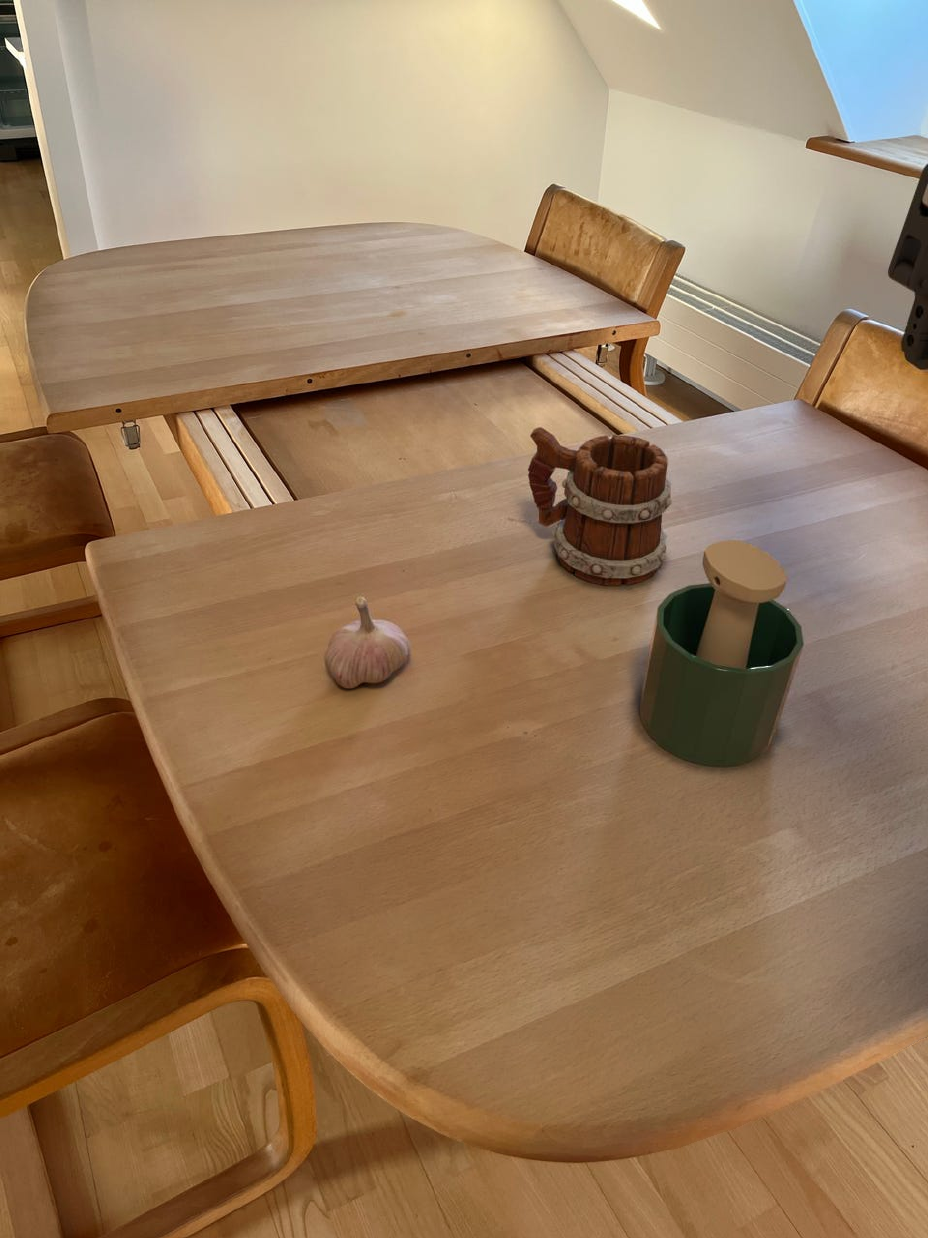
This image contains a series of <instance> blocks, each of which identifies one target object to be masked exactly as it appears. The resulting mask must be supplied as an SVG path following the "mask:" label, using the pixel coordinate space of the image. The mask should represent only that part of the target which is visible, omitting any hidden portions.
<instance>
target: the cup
mask: <svg viewBox="0 0 928 1238" xmlns="http://www.w3.org/2000/svg"><path fill="white" fill-rule="evenodd" d="M714 593H715V589H714V587H713V586H712V585H711V583H710V582H708V583H698V584H690V585H686V586H684V587H682V588H680V589H677V590H675V591H672V592H670V593H668V595H667V596H666V597H665V598H664V599H663V601H662V602H661V603H660V604H659V605H658V607H657V610H656V614H655V620H654V625H653V631H652V636H651V640H650V646H649V652H648V656H647V657H648V658H647V662H646V666H645V667H646V668H645V672H644V677H643V682H642V683H643V684H642V689H641V696H640V704H639V716H640V720H641V723H642V725H643V727H644V729H645V731H646V733H647V734H648V735H649V737H650V738H651V739H652V740H653V742H655V743H656V744H657V745H658V746H659V747H661V748H662V749H664V750H665V751H666V752H668V753H669V754H671V755H673V756H675V757H677V758H679V759H681V760H683V761H687V762H690V763H693V764H696V765H701V766H705V767H706V766H707V767H713V768H714V767H715V768H727V767H735V766H736V767H737V766H741V765H744V764H747V763H750V762H752V761H755V760H756V759H758V758H759V757H760V756H761V755H763V754H764V753H765V752H766V751H767V750H768V748H769V747H770V746H771V744H772V740H773V738H774V735H775V733H776V732H777V730H778V726H779V723H780V720H781V717H782V714H783V711H784V707H785V705H786V701H787V698H788V695H789V692H790V689H791V686H792V682H793V679H794V677H795V674H796V671H797V667H798V664H799V661H800V658H801V655H802V652H803V649H804V645H805V643H804V636H803V635H804V634H803V628H802V626H801V624H800V623H799V621H798V620H797V619H796V618H795V616H794V615H793V613H791V610H789V609H788V608H787V607H785V606H784V605H782V604H781V603H779V602H778V601H776V599H773V600H771V601H767V602H763V603H759V605H758V609H757V614H756V619H755V624H754V628H753V633H752V639H751V644H750V649H749V655H748V660H747V665H746V668H745V669H740V668H733V667H726V666H719V665H715V664H713V663H710V662H708V661H705V660H703V659H700V658H698V657H696V653H697V649H698V646H699V643H700V640H701V637H702V634H703V630H704V627H705V624H706V621H707V618H708V614H709V611H710V608H711V604H712V601H713V598H714Z"/></svg>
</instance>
